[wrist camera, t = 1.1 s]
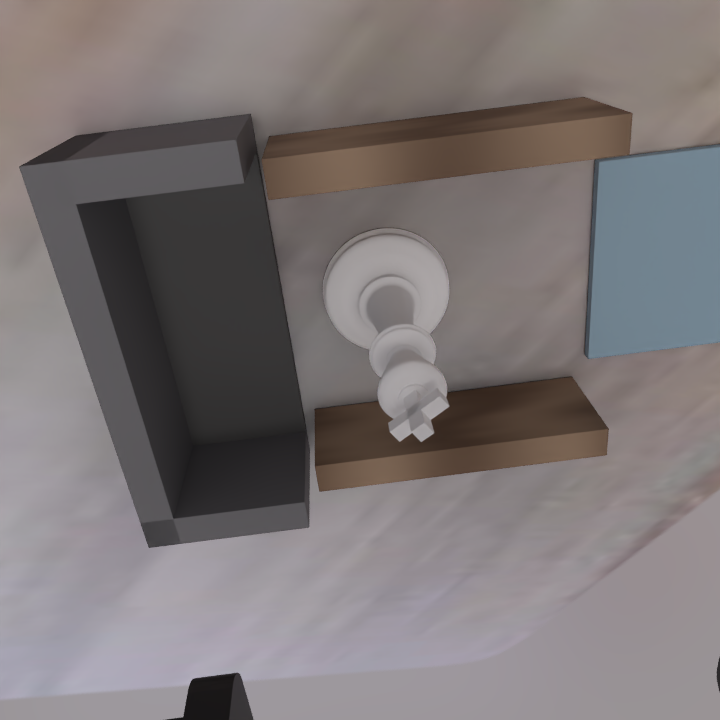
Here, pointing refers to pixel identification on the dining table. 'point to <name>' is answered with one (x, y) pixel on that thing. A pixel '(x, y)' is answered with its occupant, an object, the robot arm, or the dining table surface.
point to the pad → (654, 252)
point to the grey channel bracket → (181, 322)
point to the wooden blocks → (469, 407)
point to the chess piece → (393, 320)
